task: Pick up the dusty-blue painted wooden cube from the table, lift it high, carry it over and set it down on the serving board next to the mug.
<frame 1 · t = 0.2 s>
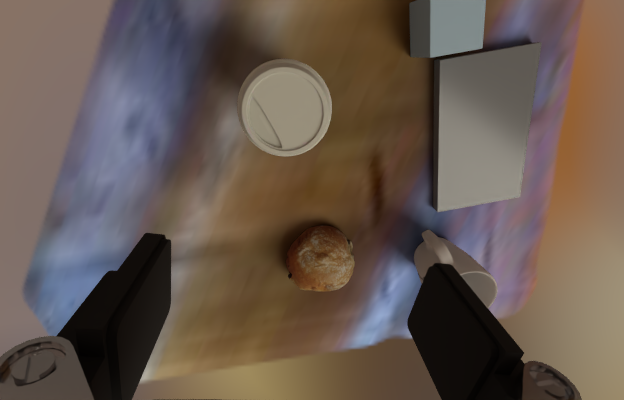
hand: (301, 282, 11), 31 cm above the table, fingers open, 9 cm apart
cube: (433, 26, 36), on the table
bread roll: (318, 252, 48), on the table
mug: (428, 245, 50), on the table
board: (477, 133, 42), on the table
coffee cup: (283, 95, 38), on the table
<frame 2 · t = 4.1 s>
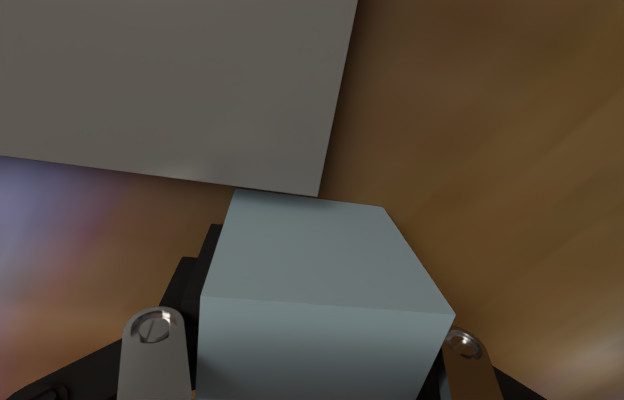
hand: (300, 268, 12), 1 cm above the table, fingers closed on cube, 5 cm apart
cube: (299, 259, 13), on the table, touching gripper
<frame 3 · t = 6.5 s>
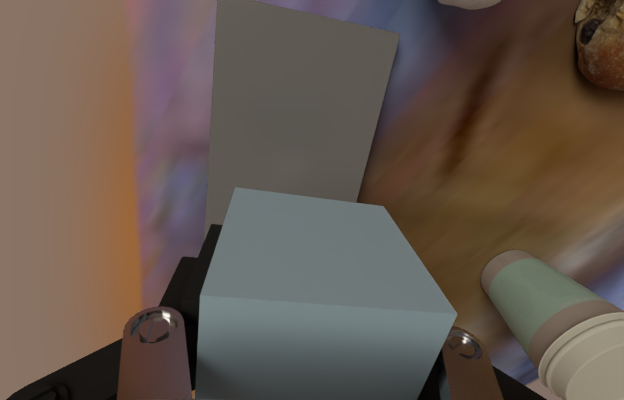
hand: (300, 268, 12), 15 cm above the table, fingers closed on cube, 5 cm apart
cube: (299, 259, 13), point 14 cm above the table, touching gripper
board: (289, 155, 26), on the table
coffee cup: (505, 271, 33), on the table
when the fingers open (3 cm above the table, at t = 9.4 s): cube drops 1 cm, resting on board.
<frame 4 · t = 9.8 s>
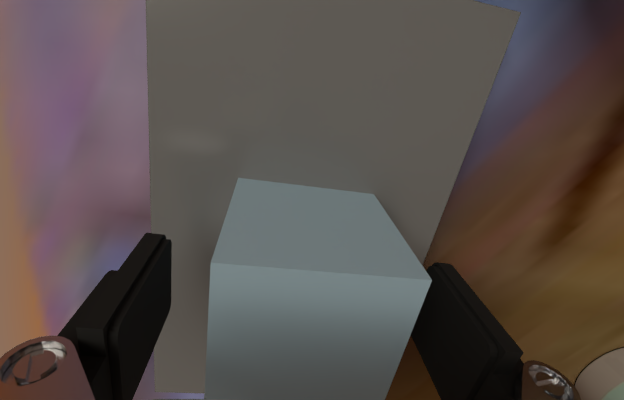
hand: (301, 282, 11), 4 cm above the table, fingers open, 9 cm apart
cube: (298, 244, 14), point 1 cm above the table, touching board
board: (296, 226, 15), on the table
coffee cup: (611, 371, 23), on the table
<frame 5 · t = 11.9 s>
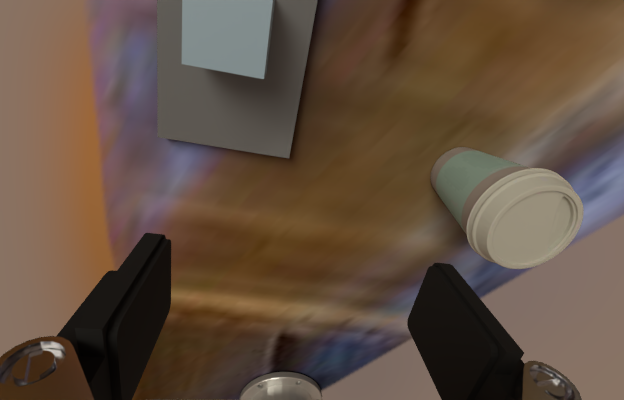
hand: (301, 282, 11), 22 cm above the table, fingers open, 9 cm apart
cube: (236, 29, 25), point 1 cm above the table, touching board
board: (238, 30, 27), on the table
coffee cup: (455, 171, 35), on the table
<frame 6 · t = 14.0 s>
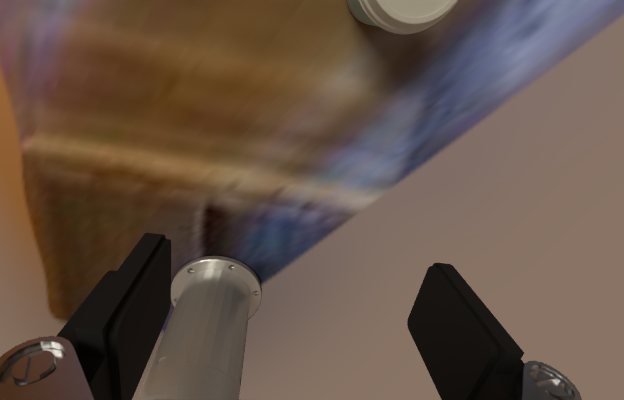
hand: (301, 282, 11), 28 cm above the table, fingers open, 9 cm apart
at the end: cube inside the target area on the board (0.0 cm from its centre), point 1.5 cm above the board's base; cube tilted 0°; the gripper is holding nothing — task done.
